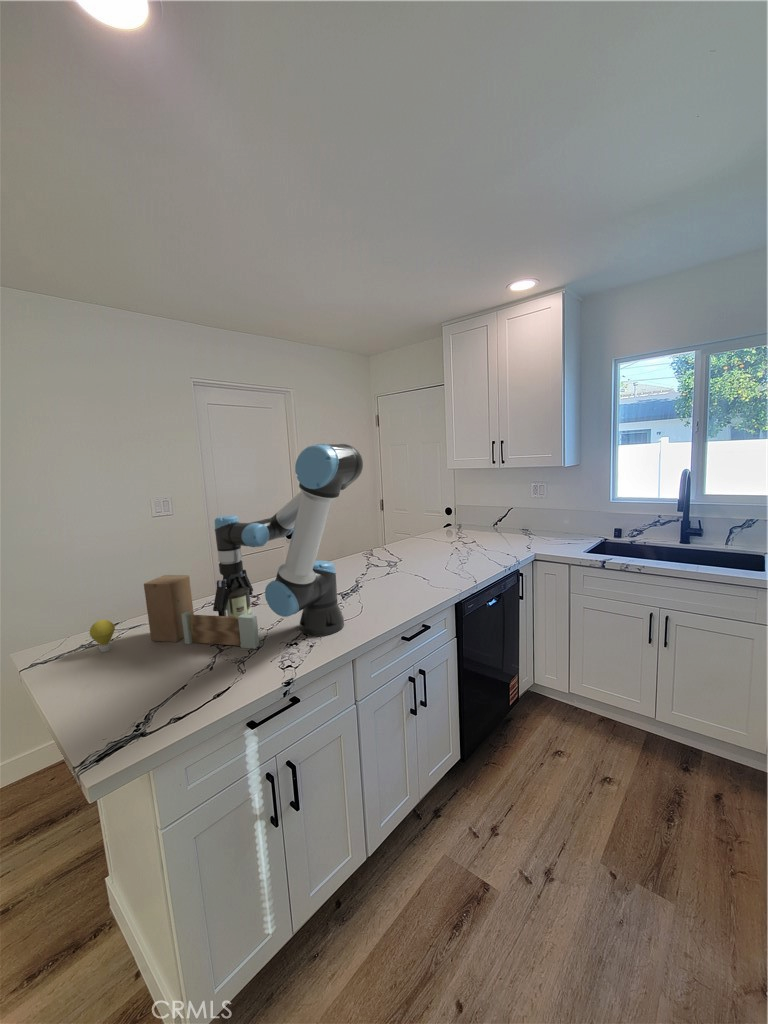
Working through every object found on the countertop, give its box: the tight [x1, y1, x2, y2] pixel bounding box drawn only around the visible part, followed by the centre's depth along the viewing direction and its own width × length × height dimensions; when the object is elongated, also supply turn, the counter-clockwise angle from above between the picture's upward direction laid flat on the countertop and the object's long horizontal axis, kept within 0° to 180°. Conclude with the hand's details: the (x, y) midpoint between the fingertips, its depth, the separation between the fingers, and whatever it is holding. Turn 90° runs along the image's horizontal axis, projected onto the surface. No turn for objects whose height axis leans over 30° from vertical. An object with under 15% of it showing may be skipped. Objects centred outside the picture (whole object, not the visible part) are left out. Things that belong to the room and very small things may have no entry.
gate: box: [189, 614, 241, 647], centre depth 135 cm, size 18×1×9 cm, turn 77°
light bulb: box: [89, 619, 116, 653], centre depth 134 cm, size 7×7×10 cm
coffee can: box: [222, 587, 252, 617], centre depth 145 cm, size 10×10×14 cm
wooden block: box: [143, 574, 195, 643], centre depth 142 cm, size 10×10×20 cm
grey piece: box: [181, 612, 260, 649], centre depth 134 cm, size 26×3×10 cm, turn 77°
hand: (236, 620), depth 145 cm, fingers open, 13 cm apart
